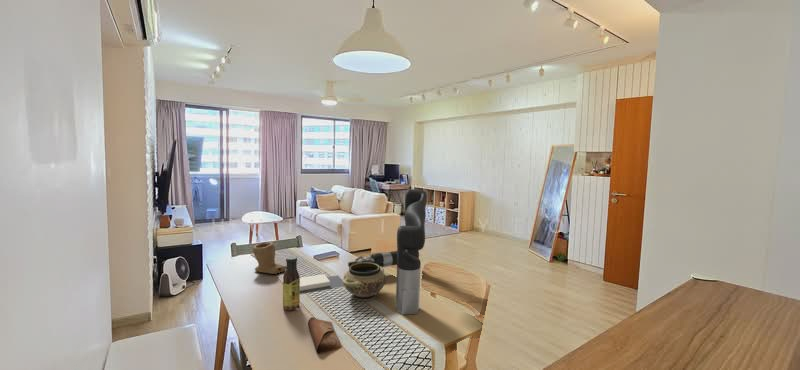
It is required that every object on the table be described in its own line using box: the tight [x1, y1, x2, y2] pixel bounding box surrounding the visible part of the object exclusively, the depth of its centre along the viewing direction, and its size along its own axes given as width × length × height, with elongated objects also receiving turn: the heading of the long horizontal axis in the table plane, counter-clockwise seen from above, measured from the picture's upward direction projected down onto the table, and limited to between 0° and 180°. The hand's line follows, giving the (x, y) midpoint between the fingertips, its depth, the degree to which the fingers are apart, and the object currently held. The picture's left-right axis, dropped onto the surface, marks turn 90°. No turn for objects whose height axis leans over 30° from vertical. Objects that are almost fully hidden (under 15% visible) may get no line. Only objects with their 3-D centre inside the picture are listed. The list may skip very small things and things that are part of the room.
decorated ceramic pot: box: [342, 262, 387, 301], centre depth 139 cm, size 24×18×15 cm
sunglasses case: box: [307, 317, 343, 355], centre depth 108 cm, size 18×7×7 cm
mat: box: [300, 275, 345, 295], centre depth 150 cm, size 24×14×1 cm, turn 118°
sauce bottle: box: [282, 256, 301, 312], centre depth 127 cm, size 7×6×20 cm
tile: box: [300, 274, 330, 291], centre depth 149 cm, size 2×10×14 cm
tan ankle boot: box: [252, 241, 287, 275], centre depth 165 cm, size 15×12×15 cm
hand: (348, 264), depth 157 cm, fingers closed
